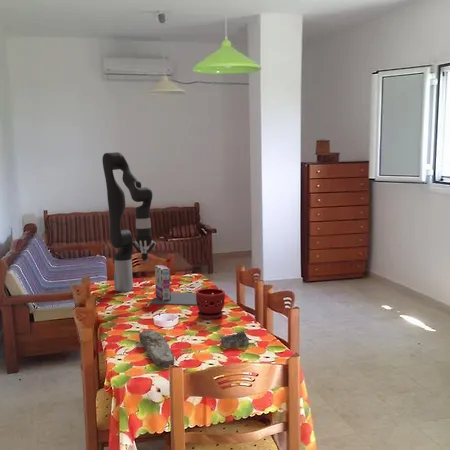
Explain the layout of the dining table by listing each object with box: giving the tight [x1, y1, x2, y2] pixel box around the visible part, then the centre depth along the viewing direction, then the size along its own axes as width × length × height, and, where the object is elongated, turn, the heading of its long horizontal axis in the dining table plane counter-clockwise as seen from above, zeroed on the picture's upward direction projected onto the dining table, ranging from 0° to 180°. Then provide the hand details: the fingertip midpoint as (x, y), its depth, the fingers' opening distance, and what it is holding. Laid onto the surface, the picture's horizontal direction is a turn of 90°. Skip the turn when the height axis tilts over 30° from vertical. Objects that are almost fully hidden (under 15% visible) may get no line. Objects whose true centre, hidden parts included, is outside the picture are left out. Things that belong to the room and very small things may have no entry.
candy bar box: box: [154, 264, 172, 301], centre depth 275 cm, size 11×5×16 cm, turn 25°
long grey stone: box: [138, 329, 175, 368], centre depth 206 cm, size 35×5×10 cm
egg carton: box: [219, 330, 250, 349], centre depth 211 cm, size 11×8×4 cm
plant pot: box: [195, 288, 226, 320], centre depth 246 cm, size 13×13×12 cm
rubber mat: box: [150, 291, 197, 306], centre depth 276 cm, size 24×20×1 cm
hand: (145, 260), depth 275 cm, fingers closed
